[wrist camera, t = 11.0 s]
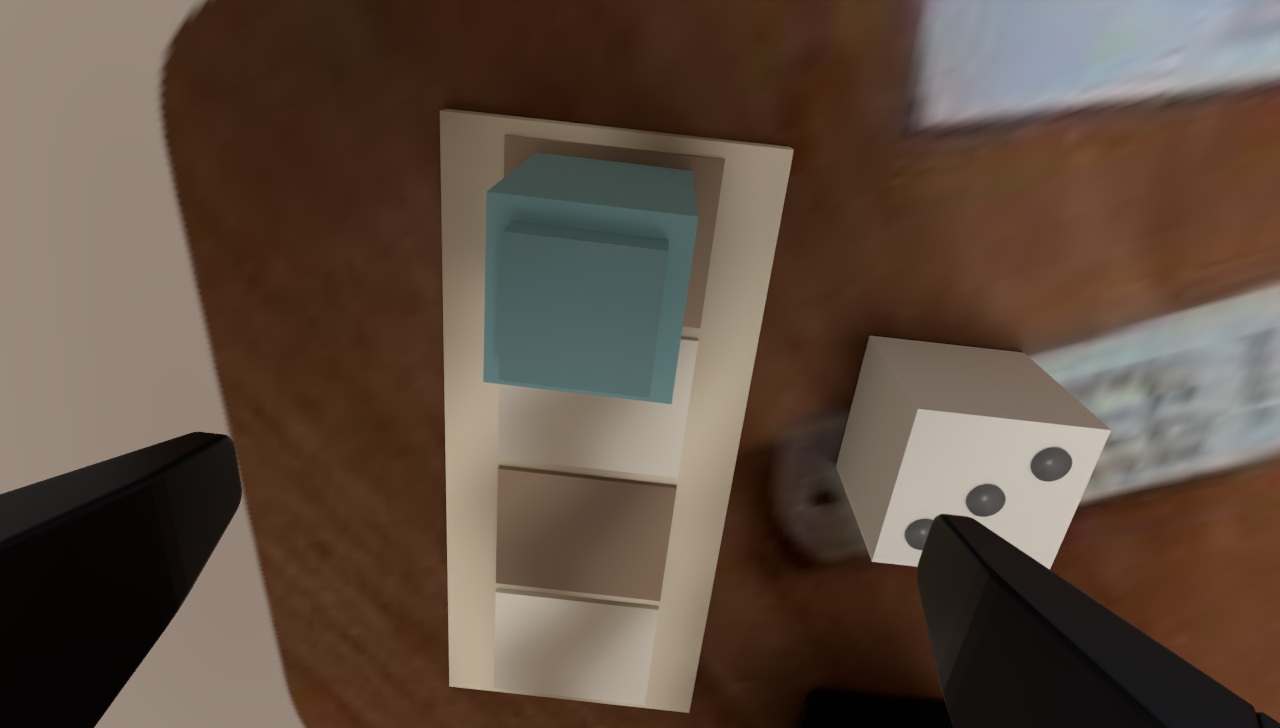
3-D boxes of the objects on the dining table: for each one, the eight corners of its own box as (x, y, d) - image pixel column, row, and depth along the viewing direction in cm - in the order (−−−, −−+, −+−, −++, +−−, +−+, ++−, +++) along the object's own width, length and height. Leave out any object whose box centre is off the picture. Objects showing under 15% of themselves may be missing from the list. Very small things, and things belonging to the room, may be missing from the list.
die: (1023, 352, 20) (1112, 432, 16) (977, 482, 22) (1046, 583, 18) (869, 335, 20) (919, 410, 16) (835, 466, 22) (872, 563, 18)
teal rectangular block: (692, 171, 18) (700, 226, 12) (672, 316, 20) (671, 422, 14) (536, 152, 18) (475, 200, 12) (529, 300, 20) (473, 399, 14)
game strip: (790, 146, 18) (794, 151, 18) (689, 699, 27) (689, 717, 26) (446, 108, 18) (437, 111, 18) (454, 673, 27) (447, 690, 26)
